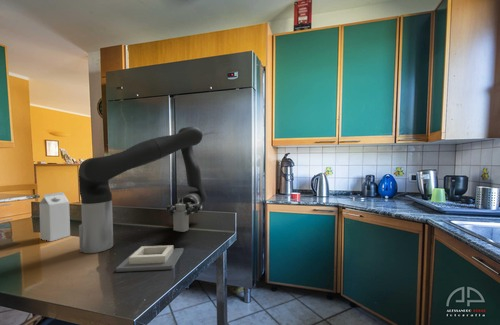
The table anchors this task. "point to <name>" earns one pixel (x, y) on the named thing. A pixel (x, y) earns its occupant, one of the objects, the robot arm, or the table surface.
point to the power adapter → (180, 218)
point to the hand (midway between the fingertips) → (179, 212)
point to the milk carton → (54, 217)
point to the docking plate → (151, 258)
